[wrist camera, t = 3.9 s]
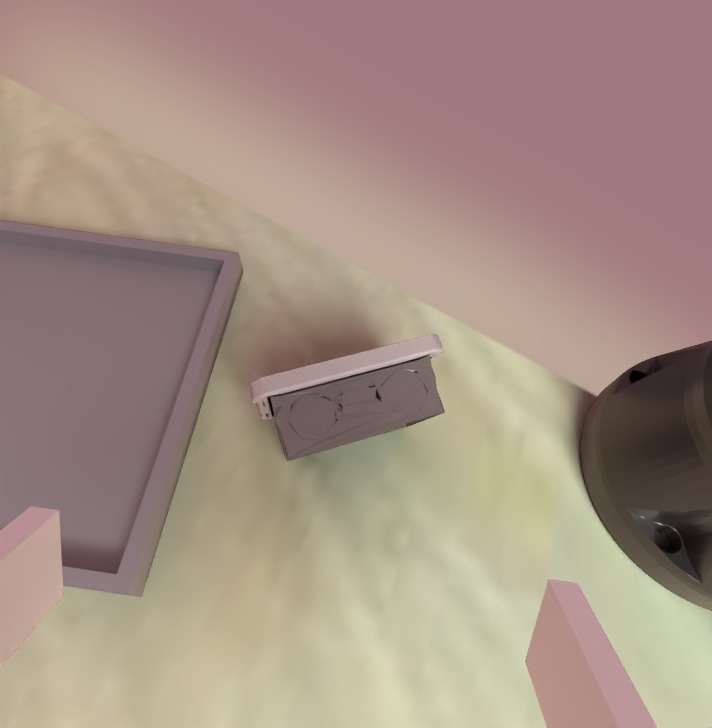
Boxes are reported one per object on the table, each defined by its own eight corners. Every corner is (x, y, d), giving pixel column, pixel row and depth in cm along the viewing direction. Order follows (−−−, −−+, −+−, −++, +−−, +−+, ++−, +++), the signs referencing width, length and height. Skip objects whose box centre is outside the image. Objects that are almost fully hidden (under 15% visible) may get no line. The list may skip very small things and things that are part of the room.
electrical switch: (399, 372, 32) (429, 300, 23) (426, 446, 30) (470, 397, 22) (259, 409, 30) (237, 346, 22) (279, 490, 28) (263, 456, 20)
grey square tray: (243, 271, 35) (238, 253, 33) (141, 596, 25) (126, 594, 23) (-46, 231, 35) (-65, 211, 34) (-265, 535, 25) (-310, 529, 23)
